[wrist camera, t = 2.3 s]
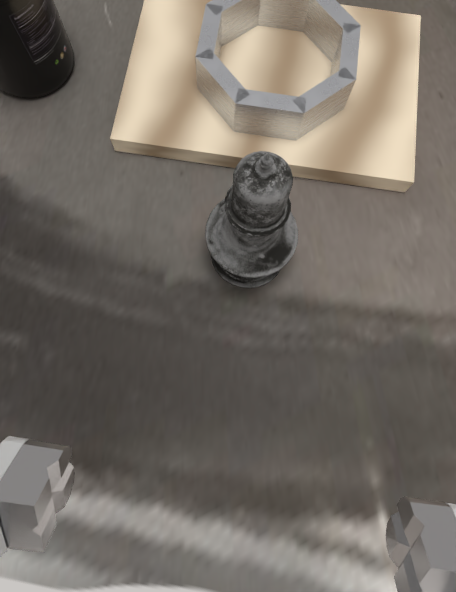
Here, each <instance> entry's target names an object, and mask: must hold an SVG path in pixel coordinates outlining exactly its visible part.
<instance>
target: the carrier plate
mask: <svg viewBox="0 0 456 592" xmlns="http://www.w3.org/2000/svg"><path fill="white" fill-rule="evenodd" d="M210 1H212V0H144V4H143V8H142V12H141V16H140V20H139V24H138V28H137V32H136V37H135V41H134V45H133V49H132V53H131V57H130V61H129V65H128V69H127V73H126V77H125V81H124V85H123V89H122V93H121V97H120V101H119V105H118V109H117V113H116V117H115V121H114V125H113V129H112V134H111V138H110V139H111V142H112V144H113V147H114V149H115V151H120V152H127V153H134V154H141V155H148V156H154V157H161V158H168V159H175V160H182V161H189V162H196V163H203V164H210V165H217V166H224V167H231V168H236V166H237V164H238V163H239V162H240V160H241V159H242V158H244V157H245V156H246V155H248V154H251V153H253V152H258V151H267V152H271V153H274V154H277V155H278V156H280V157H282V158H283V159H284V160H285V161H286V162H287V163H288V165H289V167H290V168H291V172H292V176H293V177H300V178H307V179H314V180H321V181H328V182H335V183H342V184H349V185H356V186H363V187H370V188H377V189H384V190H390V191H397V192H404V193H405V192H406V191H407V190H408V189H409V187H410V186H411V185H412V184H413V183H414V171H415V146H416V120H417V95H418V70H419V45H420V19H421V16H420V15H413V14H406V13H399V12H391V11H384V10H377V9H370V8H362V7H355V6H348V5H341V4H340V5H341V6H342V7H343V8H344V9H345V10H346V11H347V12H348V13H349V14H350V15H351V16H352V17H353V18H354V19H355V20H356V21H357V22H358V23H359V24H360V25H361V28H360V40H359V52H358V64H357V76H356V81H355V84H354V86H353V88H352V91H351V93H350V95H349V97H348V100H347V102H346V104H345V107H344V109H343V110H342V111H340V112H339V113H337V114H336V115H334V116H332V117H331V118H329V119H328V120H326V121H325V122H323V123H322V124H320V125H319V126H317V127H316V128H314V129H313V130H311V131H310V132H308V133H307V134H305V135H304V136H302V137H301V138H299V139H298V140H296V141H294V140H287V139H280V138H273V137H266V136H259V135H252V134H245V133H238V132H234V131H233V130H232V129H231V128H230V127H229V125H228V124H227V123H226V122H225V121H224V120H223V118H222V117H221V116H220V115H219V114H218V112H217V111H216V110H215V109H214V108H213V107H212V105H211V104H210V103H209V102H208V101H207V99H206V98H205V97H204V96H203V95H202V94H201V92H200V91H199V90H198V89H197V76H196V61H195V56H196V51H197V46H198V41H199V36H200V31H201V26H202V21H203V16H204V11H205V6H206V4H207V3H208V2H210ZM219 59H220V61H221V62H222V63H223V64H224V65H225V66H226V67H227V69H228V70H229V71H230V72H231V73H232V74H233V75H234V77H235V78H236V79H237V80H238V81H239V82H240V83H241V85H242V86H243V87H244V88H245V89H248V90H255V91H262V92H269V93H276V94H283V95H290V96H297V97H299V96H300V95H302V94H304V93H305V92H307V91H308V90H310V89H311V88H313V87H315V86H316V85H318V84H319V83H321V82H322V81H324V80H325V79H327V78H329V77H330V75H331V65H332V62H331V61H330V60H329V59H328V58H327V57H326V56H325V55H324V54H323V53H322V52H321V51H320V49H319V48H318V47H317V46H316V45H315V44H314V43H313V42H312V41H311V40H310V39H309V38H308V37H307V36H306V35H305V34H304V33H303V32H301V31H294V30H287V29H280V28H273V27H265V26H256V27H254V28H253V29H251V30H249V31H248V32H246V33H244V34H242V35H241V36H239V37H237V38H236V39H234V40H232V41H231V42H229V43H227V44H226V45H224V46H222V47H221V52H220V57H219Z"/></svg>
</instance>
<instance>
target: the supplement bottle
mask: <svg viewBox="0 0 456 592" xmlns="http://www.w3.org/2000/svg"><path fill="white" fill-rule="evenodd" d="M73 62H74V56H73V50H72V47H71V44H70V41H69V39H68V36H67V33H66V31H65V28H64V26H63V24H62V21H61V19H60V16H59V14H58V11H57V9H56V6H55V4H54V1H53V0H0V89H1V90H3V91H4V92H6V93H8V94H11V95H14V96H17V97H23V98H34V97H40V96H44V95H47V94H49V93H51V92H53V91H55V90H56V89H58V88H59V87H60V86H61V85H62V84H63V83H64V82H65V81H66V80H67V78H68V77H69V75H70V73H71V70H72V67H73Z"/></svg>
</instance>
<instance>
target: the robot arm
mask: <svg viewBox="0 0 456 592" xmlns="http://www.w3.org/2000/svg"><path fill="white" fill-rule="evenodd" d="M71 457H72V449H71V446H67V445H61V444H55V443H49V442H43V441H37V440H31V439H26V438H20V437H13V436H8V437H7V438H6V439H4V440H3V441H2V442H1V443H0V557H1V556H2V555H3V554H4V553H6V552H7V548H10V549H18V550H26V551H34V552H41V553H44V552H45V550H46V547H47V545H48V543H49V541H50V539H51V536H52V534H53V532H54V530H55V528H56V526H57V521H56V515H55V514H56V513H57V512H59V511H60V510H61V509H63V508H64V507H65V506H66V503H67V501H68V499H69V497H70V494H71V490H72V487H73V483H74V474H75V473H74V467H73V465H72V464H71V463H70V462H69V461H70V459H71ZM397 507H398V511H399V512H397V513H395V514H393V515H391V517H390V519H389V521H388V523H387V529H386V543H387V549H388V553H389V557H390V558H391V560H392V561H393V562H394V563H395V565H396V566H397V567H398V569H397V572H396V574H395V576H394V579H395V583H396V587H397V592H456V504H451V503H445V502H442V501H435V500H428V499H420V498H413V497H405V496H404V497H402V498H400V500H399V502H398V504H397Z"/></svg>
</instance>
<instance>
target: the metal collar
mask: <svg viewBox="0 0 456 592" xmlns="http://www.w3.org/2000/svg"><path fill="white" fill-rule="evenodd" d="M256 26H265V27H273V28H280V29H287V30H294V31H301V32H303V33H304V34H305V35H306V36H307V37H308V38H309V39H310V40H311V41H312V42H313V43H314V44H315V45H316V46H317V47H318V48H319V49H320V51H321V52H322V53H323V54H324V55H325V56H326V57H327V58H328V59H329V60H330V61H331V62H332V65H331V75H330V77H329V78H327V79H325V80H324V81H322V82H321V83H319V84H318V85H316V86H315V87H313V88H311V89H310V90H308V91H307V92H305V93H304V94H302V95H300V96H299V97H297V96H290V95H283V94H276V93H269V92H262V91H255V90H248V89H245V88H244V87H243V86H242V85H241V83H240V82H239V81H238V80H237V79H236V78H235V77H234V75H233V74H232V73H231V72H230V71H229V70H228V69H227V67H226V66H225V65H224V64H223V63H222V62H221V61H220V59H219V57H220V52H221V47H222V46H224V45H226V44H227V43H229V42H231V41H232V40H234V39H236V38H237V37H239V36H241V35H242V34H244V33H246V32H248V31H249V30H251V29H253V28H254V27H256ZM360 28H361V25H360V24H359V23H358V22H357V21H356V20H355V19H354V18H353V17H352V16H351V15H350V14H349V13H348V12H347V11H346V10H345V9H344V8H343V7H342V6H341V5H340V4H339V3H338V2H337V1H336V0H212V1H210V2H208V3H207V4H206V6H205V11H204V16H203V21H202V26H201V31H200V36H199V41H198V46H197V51H196V56H195V61H196V76H197V89H198V90H199V91H200V92H201V94H202V95H203V96H204V97H205V98H206V99H207V101H208V102H209V103H210V104H211V105H212V107H213V108H214V109H215V110H216V111H217V112H218V114H219V115H220V116H221V117H222V118H223V120H224V121H225V122H226V123H227V124H228V125H229V127H230V128H231V129H232V130H233V131H234V132H238V133H245V134H252V135H259V136H266V137H273V138H280V139H287V140H294V141H296V140H298V139H299V138H301V137H302V136H304V135H305V134H307V133H308V132H310V131H311V130H313V129H314V128H316V127H317V126H319V125H320V124H322V123H323V122H325V121H326V120H328V119H329V118H331V117H332V116H334V115H336V114H337V113H339V112H340V111H342V110H343V109H344V107H345V104H346V102H347V100H348V97H349V95H350V93H351V91H352V88H353V86H354V84H355V81H356V76H357V64H358V52H359V40H360Z"/></svg>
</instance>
